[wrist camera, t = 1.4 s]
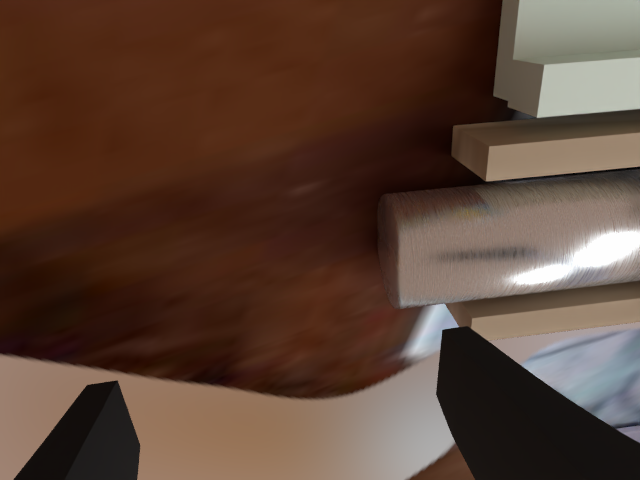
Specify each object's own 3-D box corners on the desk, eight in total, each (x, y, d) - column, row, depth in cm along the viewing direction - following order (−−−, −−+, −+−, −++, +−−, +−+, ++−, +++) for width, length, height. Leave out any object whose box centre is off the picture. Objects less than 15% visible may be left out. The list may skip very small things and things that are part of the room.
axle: (701, 145, 20) (807, 185, 16) (669, 236, 22) (755, 290, 18) (376, 176, 19) (407, 227, 15) (376, 268, 21) (402, 333, 17)
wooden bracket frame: (684, 271, 23) (803, 342, 18) (442, 299, 22) (495, 383, 17) (739, 100, 19) (907, 130, 14) (453, 125, 18) (525, 167, 13)
